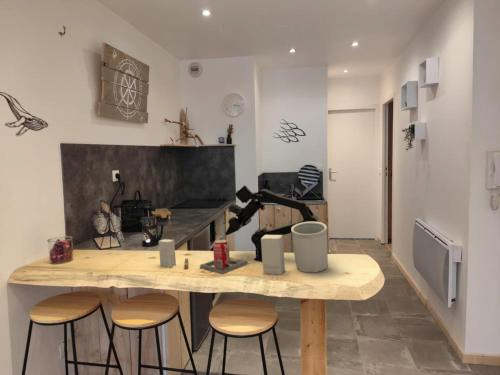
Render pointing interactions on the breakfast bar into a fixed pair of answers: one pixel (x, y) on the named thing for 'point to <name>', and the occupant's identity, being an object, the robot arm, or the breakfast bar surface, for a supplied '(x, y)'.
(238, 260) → the plate
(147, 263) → the breakfast bar surface
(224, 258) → the soda can
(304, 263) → the utensil holder
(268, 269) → the skincare box
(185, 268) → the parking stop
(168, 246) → the skincare box
